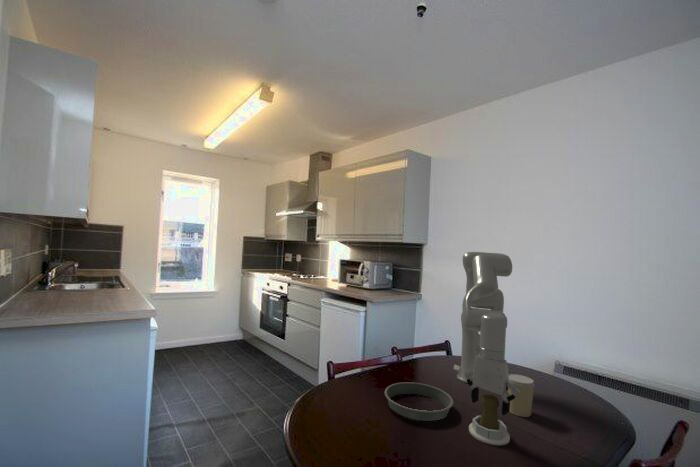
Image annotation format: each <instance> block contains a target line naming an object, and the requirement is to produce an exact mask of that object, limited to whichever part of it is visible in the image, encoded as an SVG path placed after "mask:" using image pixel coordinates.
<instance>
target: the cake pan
mask: <svg viewBox="0 0 700 467" xmlns="http://www.w3.org/2000/svg"><path fill="white" fill-rule="evenodd" d="M399 394H408V395H409V394H419V395H418V396H420V395H424V396H428V397H431V398H434V399H436V400H438V401H439V402H441V403H442V404H443V405H444V406H445V407H446V408H444V409H441V410H433V411H427V410H418V409H412V408H408V407H405V406H402V405H400V404H398V403H396V402H394V401H393V400H391V399H390V398H391V397H393V396H395V395H399ZM384 396H385V397H386V399H387V402H388V403H387V404H388V407H389V406H390V407H389V409H390V408H391V409H392V410H394V411H395V412H397V413H398V414H400V415H402V416H405V417H408V418H411V419H415V420H423V421H433V420H440V419H442V420H444V419H445V418H447V416H448V415H447V414H449V411H450V409H451V408H452V407H453V406H454V400H453V397H452V396H451V395H450V394H449V393H447V392H446V391H444V390H442V389H441V388H439V387H436V386H432V385H430V384H427V383H421V382H420V383H419V382H409V381H407V382H405V381H403V382H396V383H392V384H390V385H388V386H387V387H386V388H385V390H384ZM399 396H400V395H399ZM424 396H423V397H424ZM428 397H427V398H428ZM431 398H430V399H431ZM391 409H390V410H391ZM392 410H391V411H392ZM398 414H397V415H398ZM443 418H444V419H443ZM440 421H441V420H440Z"/></svg>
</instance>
